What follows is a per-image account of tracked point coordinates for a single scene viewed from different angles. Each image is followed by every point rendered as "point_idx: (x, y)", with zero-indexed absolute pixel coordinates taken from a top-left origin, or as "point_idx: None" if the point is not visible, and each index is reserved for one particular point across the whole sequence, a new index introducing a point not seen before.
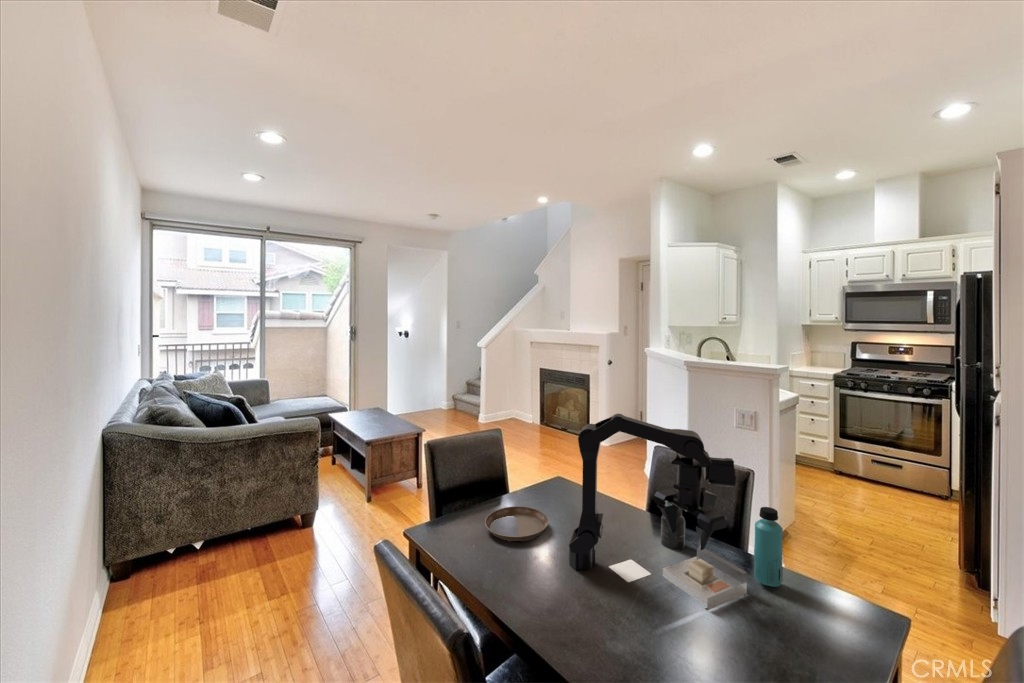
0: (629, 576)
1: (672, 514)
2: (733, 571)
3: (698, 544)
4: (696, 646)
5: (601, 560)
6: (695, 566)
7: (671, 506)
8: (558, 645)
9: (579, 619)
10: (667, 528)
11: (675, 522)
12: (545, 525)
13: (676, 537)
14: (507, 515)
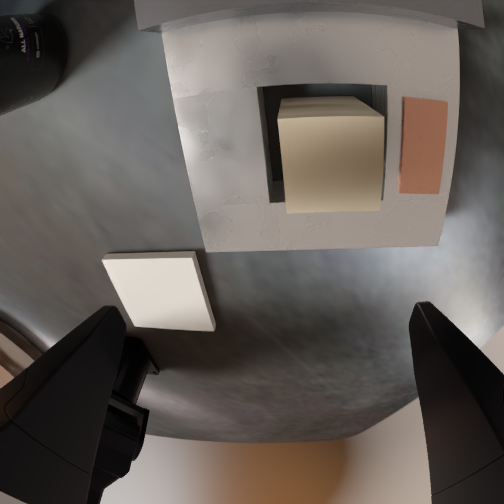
0: (188, 315)
1: (54, 449)
2: (424, 16)
3: (416, 375)
4: (456, 323)
5: (98, 309)
6: (332, 210)
7: (22, 500)
8: (312, 433)
9: (280, 412)
10: None
11: (73, 368)
12: (4, 329)
13: (23, 71)
14: None
